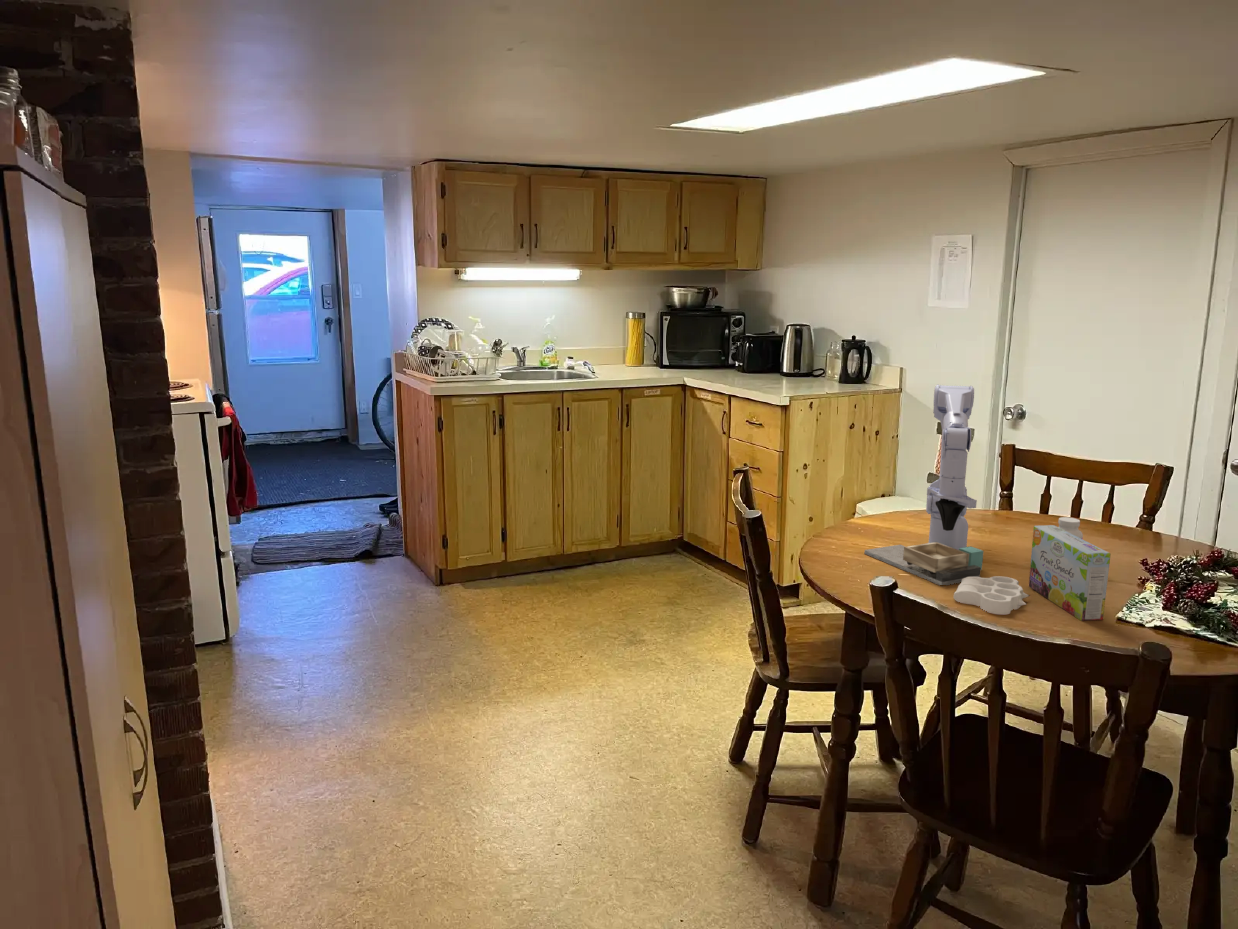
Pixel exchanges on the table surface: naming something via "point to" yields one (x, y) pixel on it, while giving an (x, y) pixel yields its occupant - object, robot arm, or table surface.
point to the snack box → (1069, 572)
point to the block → (974, 556)
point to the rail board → (944, 577)
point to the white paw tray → (991, 593)
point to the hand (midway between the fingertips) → (948, 529)
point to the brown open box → (935, 557)
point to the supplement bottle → (1070, 526)
